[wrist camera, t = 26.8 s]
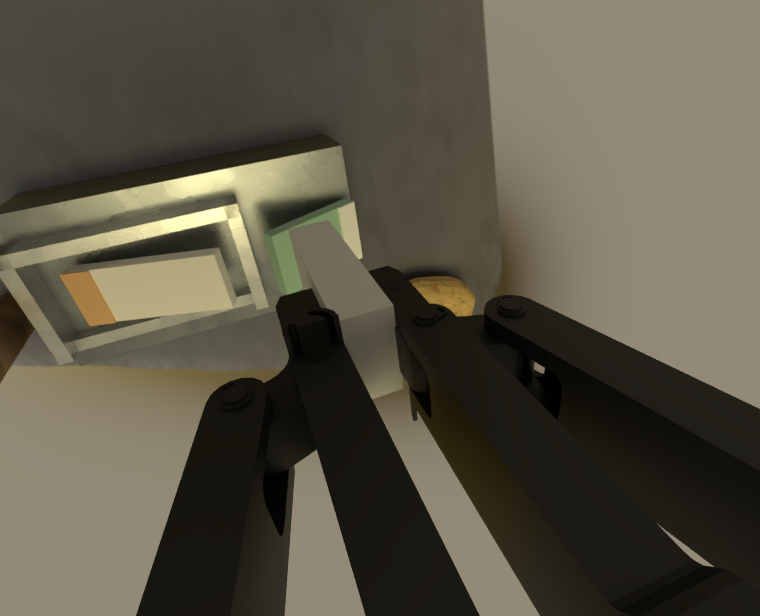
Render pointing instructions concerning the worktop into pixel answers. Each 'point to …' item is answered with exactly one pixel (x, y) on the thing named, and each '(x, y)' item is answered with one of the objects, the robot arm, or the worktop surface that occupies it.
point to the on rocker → (279, 238)
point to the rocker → (150, 286)
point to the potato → (446, 293)
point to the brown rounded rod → (12, 331)
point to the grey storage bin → (162, 236)
